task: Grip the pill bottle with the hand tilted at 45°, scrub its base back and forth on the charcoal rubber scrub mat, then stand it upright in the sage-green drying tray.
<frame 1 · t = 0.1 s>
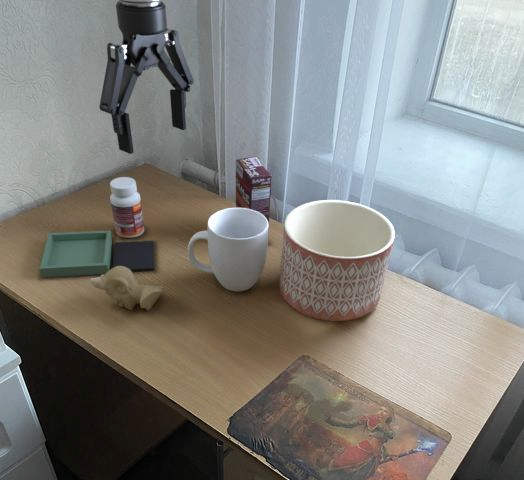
hand: (154, 139, 97), 23 cm above the table, tool pointing down, fingers open, 13 cm apart
supplement box: (251, 236, 117), on the table
mug: (232, 281, 105), on the table
pill bottle: (130, 232, 116), on the table
planter: (328, 295, 103), on the table
drying tray: (78, 257, 108), on the table
scrub mat: (134, 257, 109), on the table
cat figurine: (132, 304, 99), on the table
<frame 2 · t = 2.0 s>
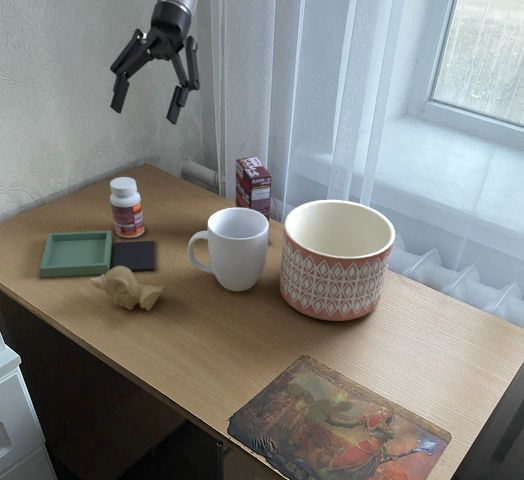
hand: (142, 116, 107), 22 cm above the table, tool tilted 45°, fingers open, 13 cm apart
nothing on the table moved.
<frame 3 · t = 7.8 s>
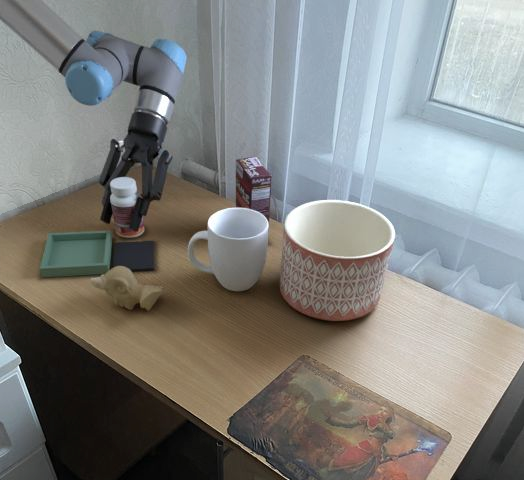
hand: (119, 225, 111), 3 cm above the table, tool tilted 45°, fingers closed on pill bottle, 6 cm apart
pill bottle: (130, 232, 116), on the table, touching gripper
everything else where it was.
when the fingers open (4 cm above the table, at t = 23.4 s): pill bottle stays where it is, resting on drying tray.
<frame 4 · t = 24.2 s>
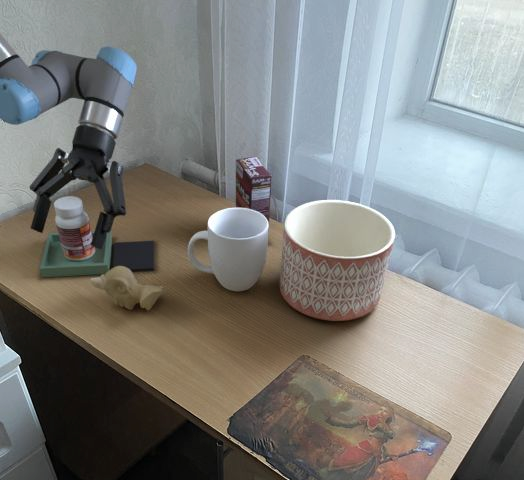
hand: (65, 239, 103), 6 cm above the table, tool tilted 45°, fingers open, 13 cm apart
pill bottle: (80, 254, 108), resting on drying tray
everything else where it was.
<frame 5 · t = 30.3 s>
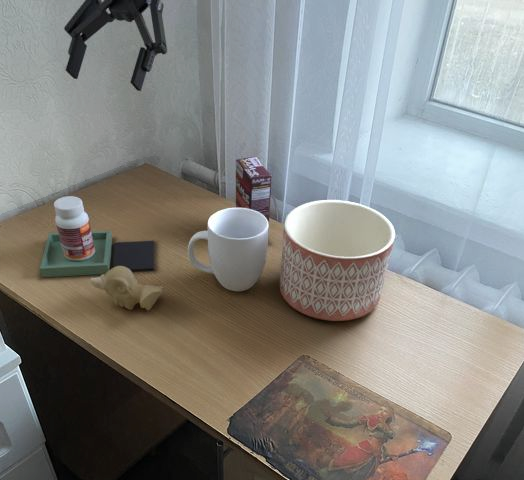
hand: (102, 81, 97), 30 cm above the table, tool tilted 45°, fingers open, 13 cm apart
nothing on the table moved.
at the end: pill bottle inside the target area in the drying tray (0.6 cm from its centre), point 0.4 cm above the drying tray's base; pill bottle tilted 0°; the gripper is holding nothing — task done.
